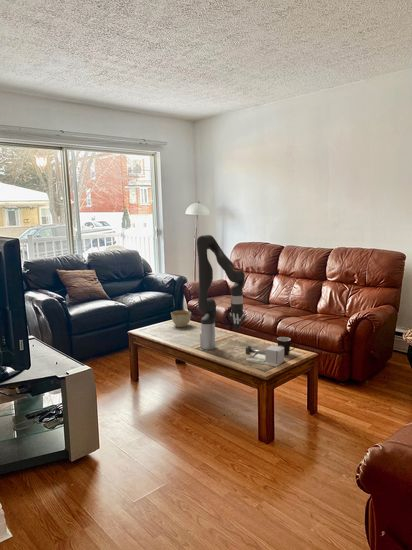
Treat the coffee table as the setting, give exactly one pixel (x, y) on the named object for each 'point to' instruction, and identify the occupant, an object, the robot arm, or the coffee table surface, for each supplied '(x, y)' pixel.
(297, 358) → the coffee table surface
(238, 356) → the coffee table surface
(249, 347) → the plunger
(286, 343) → the coffee mug
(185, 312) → the planter bowl
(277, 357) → the gauge body
